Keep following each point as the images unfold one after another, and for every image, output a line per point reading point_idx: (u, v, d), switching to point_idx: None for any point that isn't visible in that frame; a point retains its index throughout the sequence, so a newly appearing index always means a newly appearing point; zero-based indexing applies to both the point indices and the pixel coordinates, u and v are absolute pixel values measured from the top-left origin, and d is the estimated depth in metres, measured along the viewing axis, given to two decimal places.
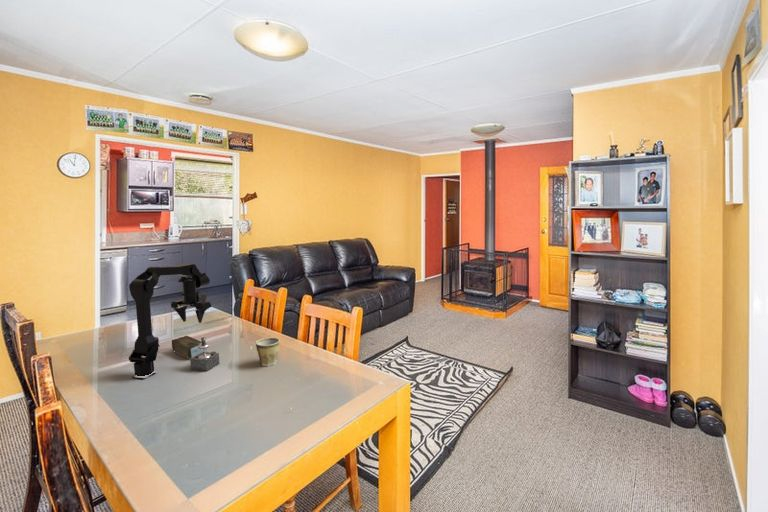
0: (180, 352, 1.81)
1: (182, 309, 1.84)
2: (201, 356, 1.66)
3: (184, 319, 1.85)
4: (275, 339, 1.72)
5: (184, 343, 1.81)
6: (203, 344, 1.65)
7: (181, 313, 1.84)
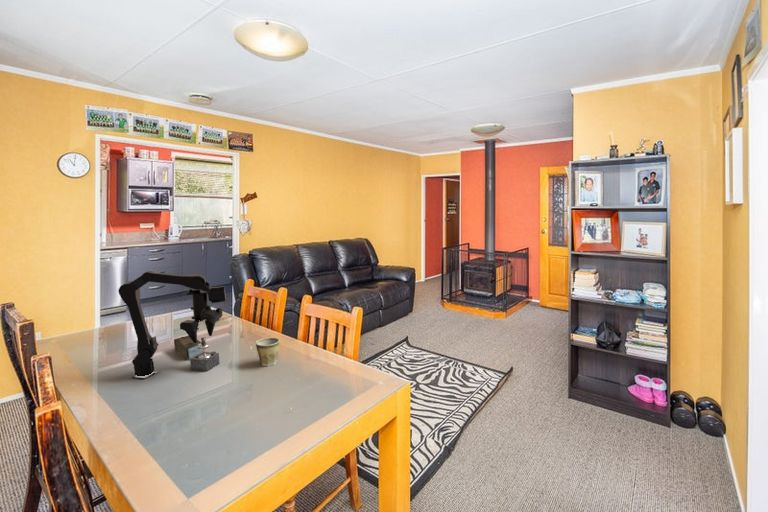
0: (180, 352, 1.81)
1: (209, 321, 1.70)
2: (201, 356, 1.66)
3: (209, 333, 1.70)
4: (275, 339, 1.72)
5: (184, 343, 1.81)
6: (203, 344, 1.65)
7: (207, 326, 1.70)
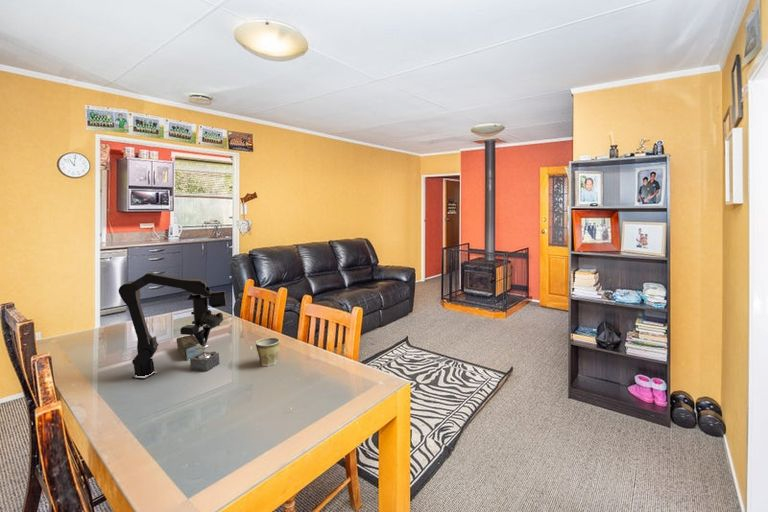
0: (181, 351, 1.82)
1: (203, 328, 1.66)
2: (201, 356, 1.66)
3: None
4: (275, 339, 1.72)
5: (184, 342, 1.81)
6: (203, 344, 1.65)
7: None
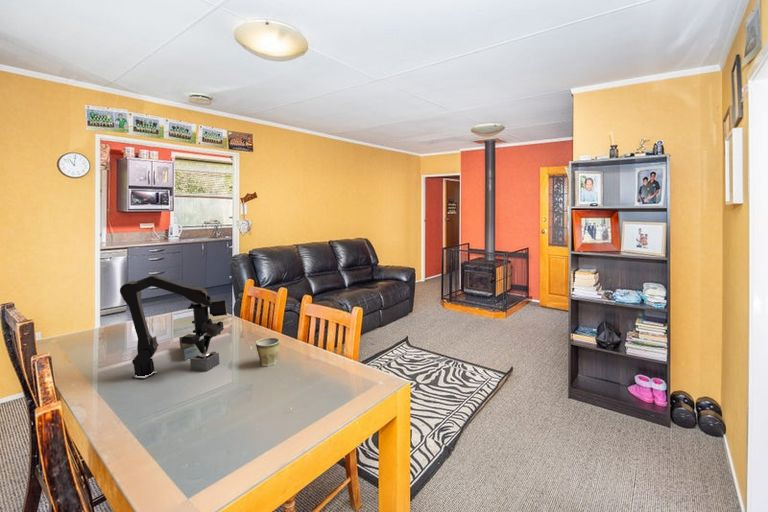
0: (181, 351, 1.82)
1: (204, 337, 1.67)
2: None
3: None
4: (275, 339, 1.72)
5: None
6: (204, 352, 1.66)
7: None
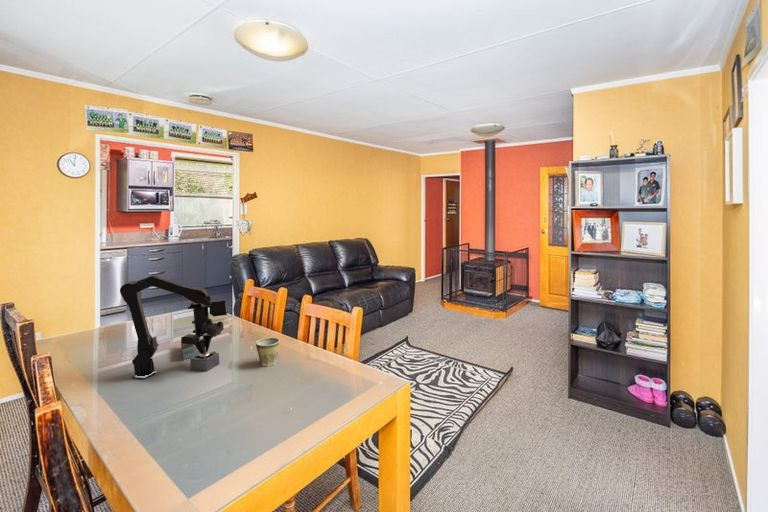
0: None
1: (205, 337, 1.67)
2: None
3: None
4: (275, 339, 1.72)
5: None
6: (204, 353, 1.66)
7: (203, 341, 1.67)
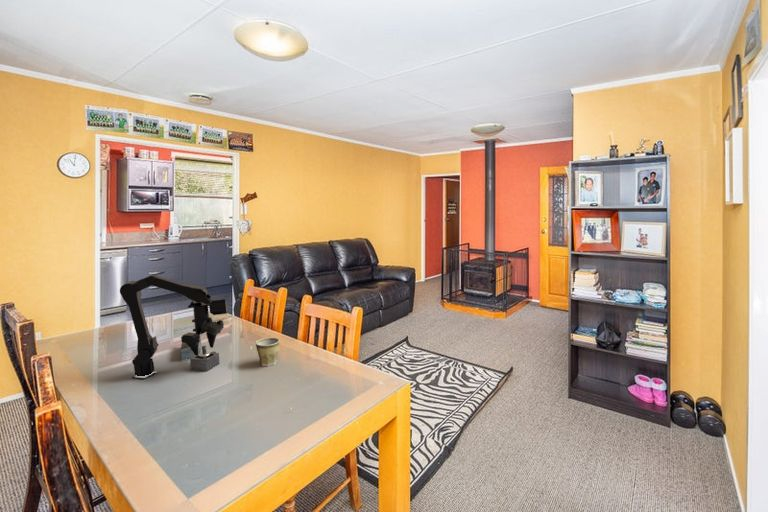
0: None
1: (210, 333, 1.70)
2: None
3: (210, 345, 1.70)
4: (275, 339, 1.72)
5: None
6: (204, 353, 1.66)
7: (208, 337, 1.71)
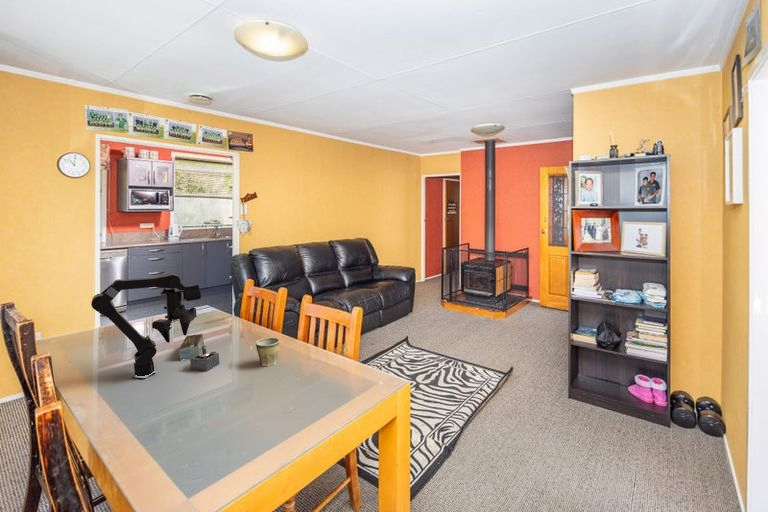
0: None
1: None
2: None
3: (184, 333, 1.69)
4: (275, 339, 1.72)
5: (185, 342, 1.82)
6: (204, 353, 1.66)
7: (182, 325, 1.70)
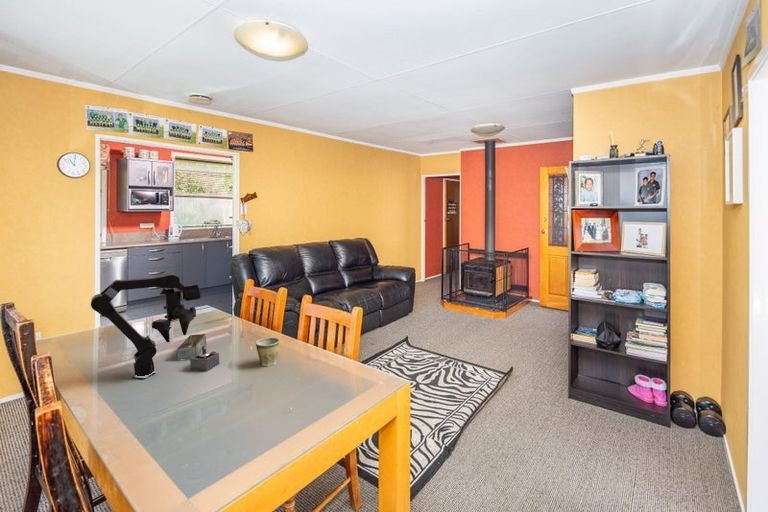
0: None
1: (183, 320, 1.70)
2: None
3: (183, 332, 1.70)
4: (275, 339, 1.72)
5: (186, 341, 1.83)
6: (204, 353, 1.66)
7: (181, 325, 1.70)
